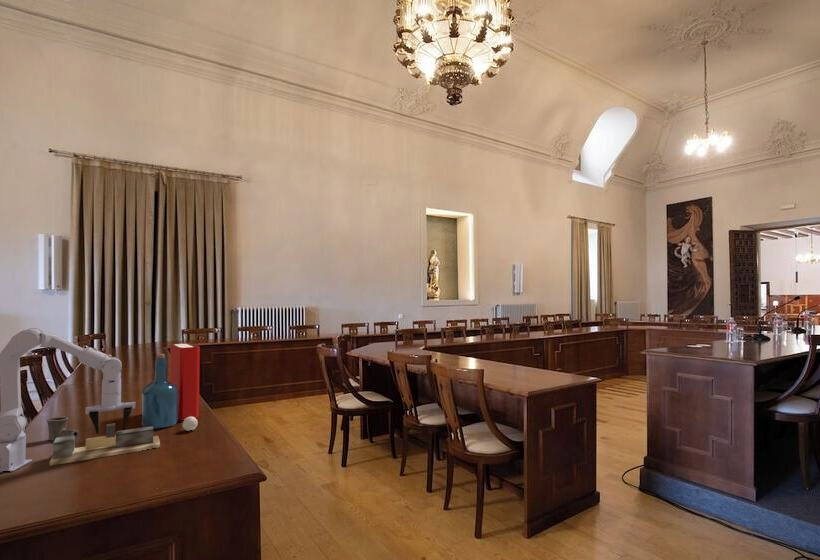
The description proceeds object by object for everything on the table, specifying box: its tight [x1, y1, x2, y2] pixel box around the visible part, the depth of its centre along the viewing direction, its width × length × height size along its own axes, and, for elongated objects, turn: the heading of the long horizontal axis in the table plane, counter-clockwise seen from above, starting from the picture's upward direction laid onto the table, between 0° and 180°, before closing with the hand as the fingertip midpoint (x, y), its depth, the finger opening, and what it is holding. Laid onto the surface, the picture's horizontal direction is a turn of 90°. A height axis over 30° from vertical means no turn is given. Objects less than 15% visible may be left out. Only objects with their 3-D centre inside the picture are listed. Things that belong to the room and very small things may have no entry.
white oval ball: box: [181, 416, 201, 432], centre depth 179 cm, size 8×6×6 cm
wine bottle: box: [141, 353, 179, 430], centre depth 187 cm, size 14×13×30 cm
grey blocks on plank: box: [49, 426, 161, 467], centre depth 156 cm, size 31×12×6 cm, turn 122°
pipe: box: [46, 416, 80, 442], centre depth 168 cm, size 6×13×8 cm, turn 77°
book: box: [169, 341, 201, 421], centre depth 206 cm, size 27×8×32 cm, turn 37°
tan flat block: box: [85, 422, 116, 450], centre depth 157 cm, size 20×3×7 cm, turn 122°
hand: (110, 431), depth 156 cm, fingers open, 7 cm apart
